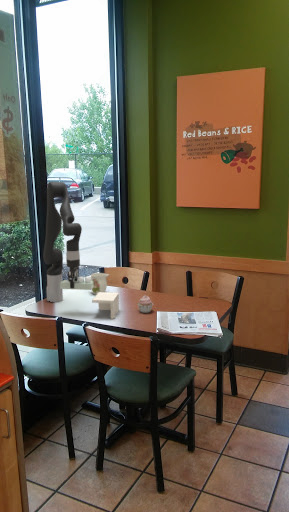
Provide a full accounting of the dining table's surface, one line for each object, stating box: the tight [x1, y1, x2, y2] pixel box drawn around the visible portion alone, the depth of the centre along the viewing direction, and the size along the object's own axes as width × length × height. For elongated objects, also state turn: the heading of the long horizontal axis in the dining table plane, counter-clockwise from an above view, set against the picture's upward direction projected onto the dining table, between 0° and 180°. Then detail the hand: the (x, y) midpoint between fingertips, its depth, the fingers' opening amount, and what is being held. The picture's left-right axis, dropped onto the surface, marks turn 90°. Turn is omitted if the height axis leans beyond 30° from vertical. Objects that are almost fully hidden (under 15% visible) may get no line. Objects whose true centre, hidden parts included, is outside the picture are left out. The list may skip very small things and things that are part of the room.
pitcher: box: [90, 272, 110, 296], centre depth 279 cm, size 11×18×14 cm, turn 68°
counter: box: [91, 291, 120, 320], centre depth 238 cm, size 12×16×10 cm
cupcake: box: [137, 295, 154, 314], centre depth 242 cm, size 9×9×10 cm
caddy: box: [60, 275, 94, 291], centre depth 237 cm, size 18×6×6 cm, turn 82°
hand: (73, 286), depth 238 cm, fingers closed on caddy, 6 cm apart
